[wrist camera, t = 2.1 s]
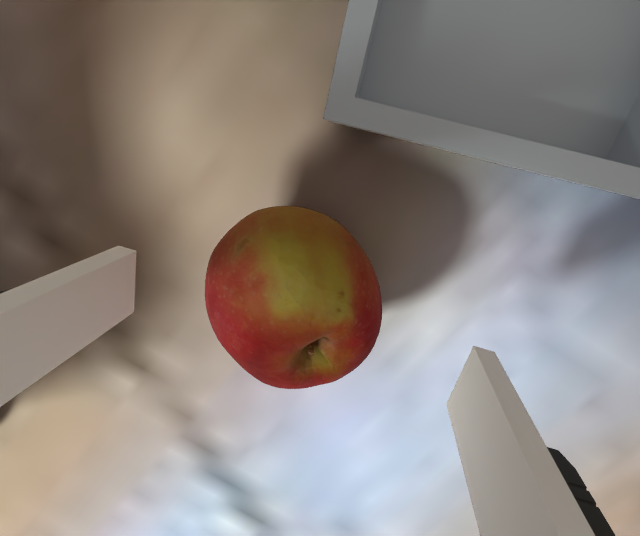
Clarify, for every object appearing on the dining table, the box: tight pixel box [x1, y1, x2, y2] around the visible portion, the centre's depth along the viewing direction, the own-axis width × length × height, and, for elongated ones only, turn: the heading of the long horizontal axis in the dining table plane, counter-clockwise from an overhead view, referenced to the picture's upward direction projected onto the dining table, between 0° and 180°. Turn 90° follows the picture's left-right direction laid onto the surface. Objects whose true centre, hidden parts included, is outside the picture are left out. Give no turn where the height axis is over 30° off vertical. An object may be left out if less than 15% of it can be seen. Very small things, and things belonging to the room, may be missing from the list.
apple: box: [205, 206, 382, 389], centre depth 16 cm, size 8×8×8 cm
